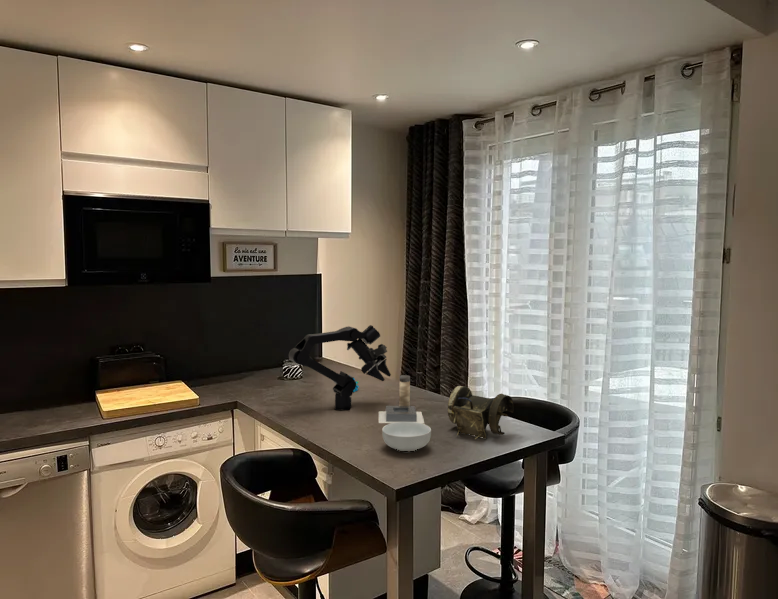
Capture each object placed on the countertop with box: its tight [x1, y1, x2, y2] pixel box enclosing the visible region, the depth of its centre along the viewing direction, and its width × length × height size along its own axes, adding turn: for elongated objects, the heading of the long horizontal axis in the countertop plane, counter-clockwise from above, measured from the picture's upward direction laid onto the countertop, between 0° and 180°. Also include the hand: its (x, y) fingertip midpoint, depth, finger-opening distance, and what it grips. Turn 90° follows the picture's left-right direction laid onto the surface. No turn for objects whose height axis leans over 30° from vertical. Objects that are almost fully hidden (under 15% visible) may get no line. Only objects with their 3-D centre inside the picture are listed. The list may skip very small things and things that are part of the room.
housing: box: [385, 405, 417, 422], centre depth 224 cm, size 12×12×3 cm
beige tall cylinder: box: [398, 374, 411, 406], centre depth 235 cm, size 4×4×15 cm
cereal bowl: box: [381, 422, 432, 452], centre depth 190 cm, size 17×17×7 cm
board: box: [378, 410, 426, 425], centre depth 225 cm, size 18×16×1 cm
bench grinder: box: [447, 385, 515, 440], centre depth 206 cm, size 20×22×20 cm
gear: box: [348, 374, 360, 393], centre depth 269 cm, size 11×6×10 cm
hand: (387, 378), depth 237 cm, fingers open, 9 cm apart
